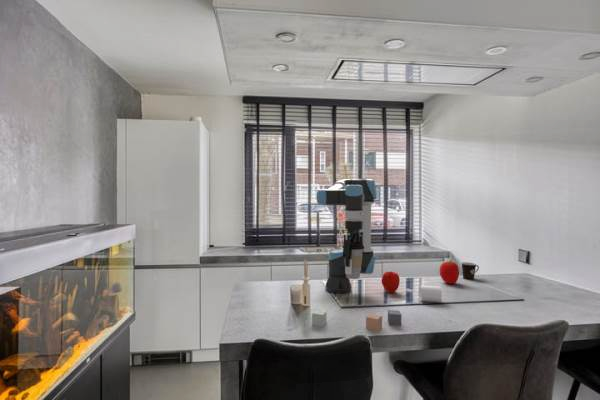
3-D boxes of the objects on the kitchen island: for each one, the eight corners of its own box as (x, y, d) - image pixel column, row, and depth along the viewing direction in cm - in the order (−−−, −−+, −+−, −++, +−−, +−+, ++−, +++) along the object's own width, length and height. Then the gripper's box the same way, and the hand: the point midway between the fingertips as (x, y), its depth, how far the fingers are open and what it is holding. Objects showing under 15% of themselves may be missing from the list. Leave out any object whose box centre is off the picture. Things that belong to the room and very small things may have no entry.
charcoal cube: (389, 325, 148) (389, 314, 148) (387, 321, 153) (387, 310, 153) (401, 326, 148) (401, 314, 148) (399, 321, 153) (399, 310, 152)
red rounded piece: (380, 293, 194) (380, 272, 194) (382, 289, 204) (383, 268, 203) (398, 295, 191) (398, 273, 190) (400, 291, 200) (400, 270, 200)
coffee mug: (463, 279, 226) (463, 264, 226) (459, 276, 235) (460, 262, 235) (482, 280, 225) (482, 265, 224) (478, 277, 233) (478, 262, 233)
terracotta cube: (366, 328, 145) (366, 316, 145) (371, 324, 149) (371, 313, 149) (377, 331, 142) (377, 319, 142) (382, 327, 146) (382, 315, 146)
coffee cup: (340, 274, 155) (340, 241, 155) (360, 274, 156) (361, 241, 156) (344, 280, 146) (345, 244, 146) (366, 279, 147) (367, 244, 146)
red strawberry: (462, 286, 212) (463, 263, 211) (443, 285, 212) (444, 262, 212) (453, 280, 224) (454, 259, 224) (436, 280, 224) (436, 258, 224)
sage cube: (311, 324, 148) (312, 313, 148) (315, 320, 153) (315, 309, 153) (323, 326, 146) (323, 314, 146) (326, 322, 151) (326, 311, 151)
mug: (441, 304, 176) (442, 289, 176) (421, 303, 178) (421, 287, 178) (437, 297, 188) (437, 283, 188) (418, 296, 190) (418, 281, 190)
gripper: (350, 222, 140) (349, 278, 140) (371, 219, 157) (371, 268, 157) (334, 221, 144) (333, 275, 145) (356, 218, 161) (356, 266, 162)
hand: (353, 272), depth 151 cm, fingers closed on coffee cup, 8 cm apart
